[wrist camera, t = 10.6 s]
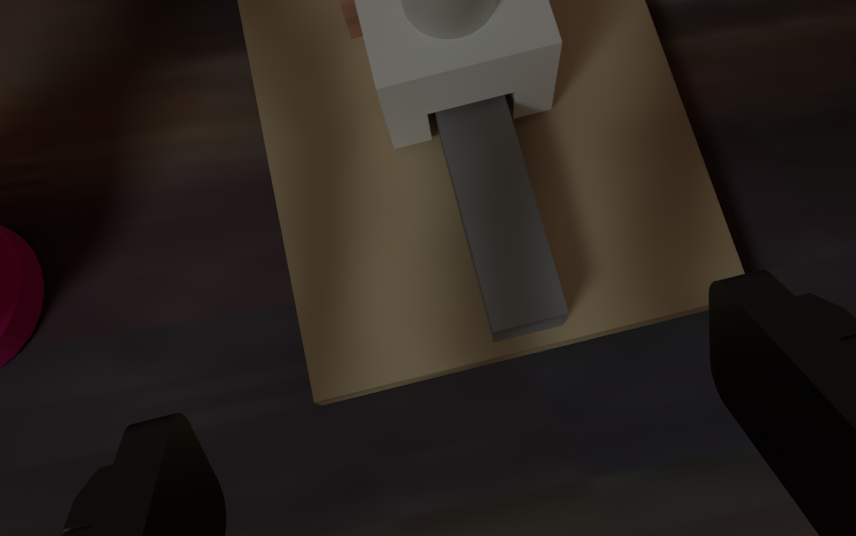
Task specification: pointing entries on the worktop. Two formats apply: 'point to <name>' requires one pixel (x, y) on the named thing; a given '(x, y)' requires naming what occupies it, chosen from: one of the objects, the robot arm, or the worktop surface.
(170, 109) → the worktop surface
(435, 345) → the track
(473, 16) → the white handled block
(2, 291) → the pepper mill
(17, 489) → the worktop surface
